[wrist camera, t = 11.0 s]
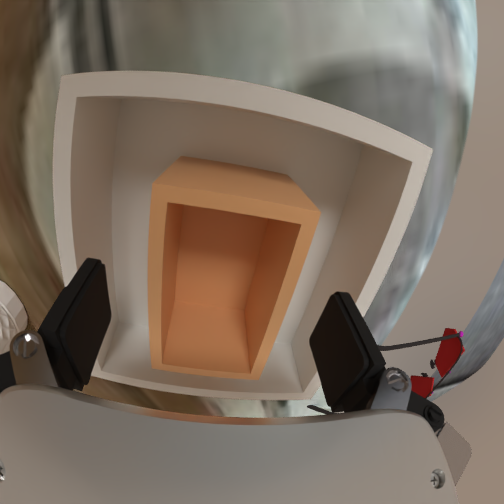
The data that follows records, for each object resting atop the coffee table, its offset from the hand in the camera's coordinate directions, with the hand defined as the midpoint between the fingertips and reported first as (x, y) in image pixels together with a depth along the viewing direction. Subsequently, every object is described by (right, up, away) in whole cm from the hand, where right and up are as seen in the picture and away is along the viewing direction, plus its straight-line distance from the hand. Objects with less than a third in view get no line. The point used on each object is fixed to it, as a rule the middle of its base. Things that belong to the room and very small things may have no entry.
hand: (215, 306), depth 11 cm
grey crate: (-1, +3, +7) cm, 8 cm away
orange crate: (-1, +3, +6) cm, 7 cm away
